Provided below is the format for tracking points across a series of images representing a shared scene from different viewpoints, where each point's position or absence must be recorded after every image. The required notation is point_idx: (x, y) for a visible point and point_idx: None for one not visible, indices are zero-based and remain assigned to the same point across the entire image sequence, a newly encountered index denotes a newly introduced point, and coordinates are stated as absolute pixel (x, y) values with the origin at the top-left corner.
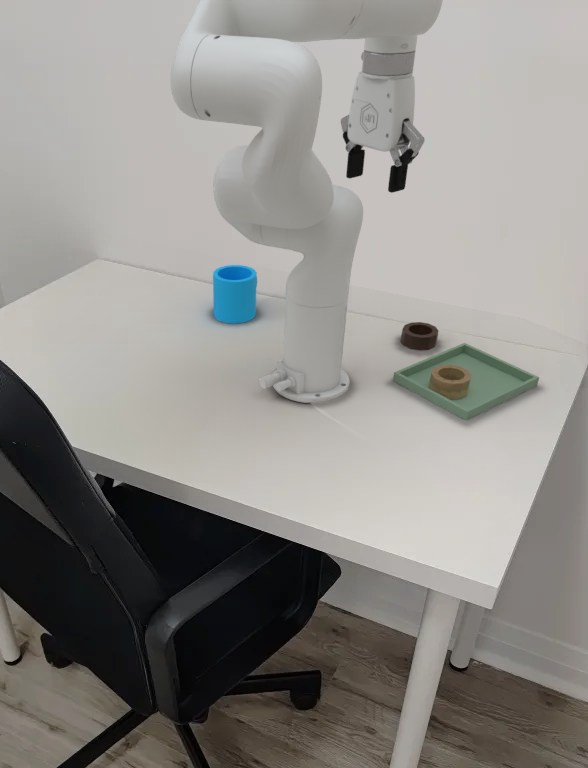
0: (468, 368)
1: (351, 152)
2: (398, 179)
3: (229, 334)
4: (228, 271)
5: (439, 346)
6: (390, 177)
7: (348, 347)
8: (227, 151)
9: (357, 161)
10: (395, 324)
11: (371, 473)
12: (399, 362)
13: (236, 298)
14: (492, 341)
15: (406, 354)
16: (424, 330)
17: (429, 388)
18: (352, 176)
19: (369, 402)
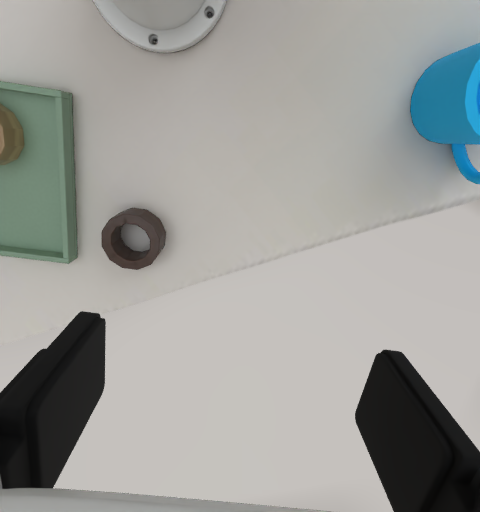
0: (28, 216)
1: (465, 472)
2: (26, 369)
3: (409, 20)
4: None
5: None
6: (57, 352)
7: (209, 148)
8: None
9: (398, 446)
10: (209, 267)
11: None
12: (117, 166)
13: (459, 57)
14: None
15: (129, 196)
16: (139, 257)
17: (6, 108)
18: (374, 368)
19: (47, 3)
